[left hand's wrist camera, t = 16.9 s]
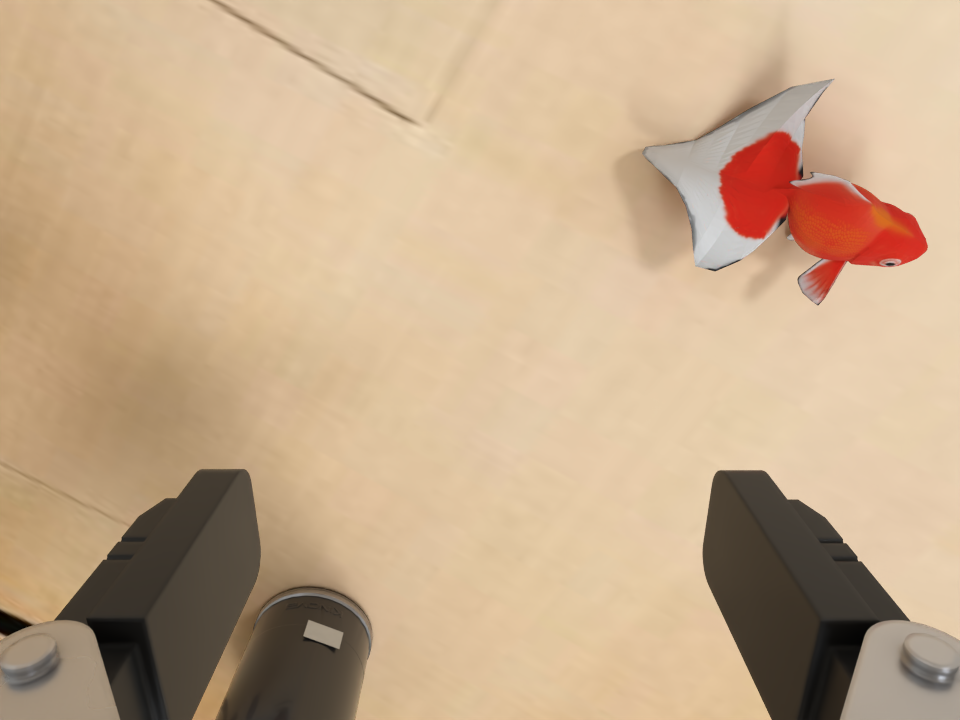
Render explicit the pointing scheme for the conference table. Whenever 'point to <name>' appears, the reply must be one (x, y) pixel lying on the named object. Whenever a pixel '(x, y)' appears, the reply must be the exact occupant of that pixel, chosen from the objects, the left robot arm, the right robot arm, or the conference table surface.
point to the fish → (781, 196)
